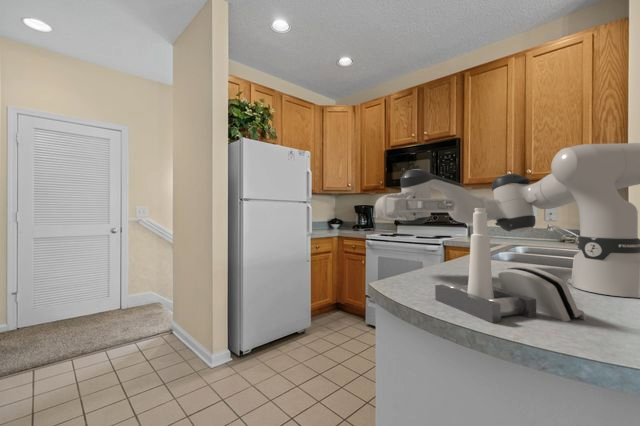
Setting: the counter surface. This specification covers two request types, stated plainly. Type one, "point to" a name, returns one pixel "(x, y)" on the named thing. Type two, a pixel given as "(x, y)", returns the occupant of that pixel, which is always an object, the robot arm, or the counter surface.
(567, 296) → the grey curved wedge
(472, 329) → the counter surface
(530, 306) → the grey hollow rectangular frame
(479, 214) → the cosmetic bottle
